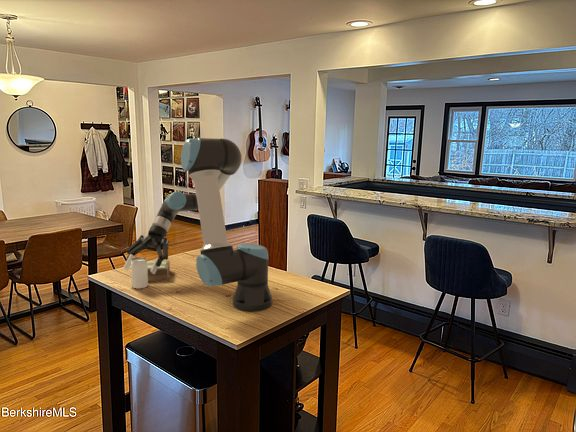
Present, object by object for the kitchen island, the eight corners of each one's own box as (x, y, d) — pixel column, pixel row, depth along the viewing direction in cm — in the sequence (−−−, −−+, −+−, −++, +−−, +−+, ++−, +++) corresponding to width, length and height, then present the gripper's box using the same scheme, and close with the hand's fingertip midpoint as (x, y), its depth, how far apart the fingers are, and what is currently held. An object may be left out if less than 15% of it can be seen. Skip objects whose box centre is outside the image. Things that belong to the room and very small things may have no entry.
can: (141, 290, 172) (140, 262, 170) (128, 287, 174) (127, 260, 172) (151, 285, 178) (150, 258, 176) (138, 283, 180) (137, 256, 178)
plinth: (167, 279, 185) (166, 268, 184) (141, 280, 182) (140, 269, 182) (169, 270, 197) (169, 259, 196) (145, 271, 195) (145, 260, 194)
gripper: (187, 236, 185) (168, 278, 174) (140, 230, 193) (119, 271, 182) (179, 226, 179) (159, 270, 168) (132, 221, 187) (110, 262, 176)
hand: (138, 270), depth 175 cm, fingers open, 13 cm apart
